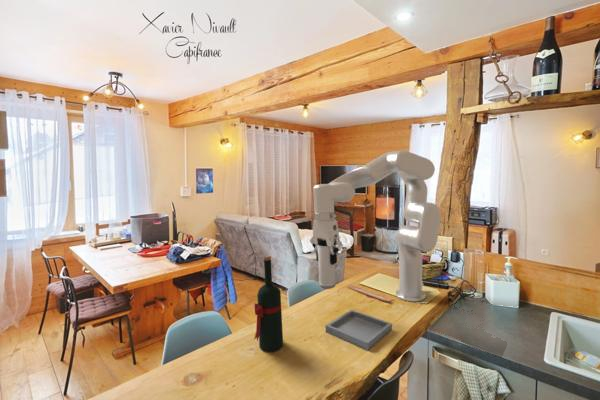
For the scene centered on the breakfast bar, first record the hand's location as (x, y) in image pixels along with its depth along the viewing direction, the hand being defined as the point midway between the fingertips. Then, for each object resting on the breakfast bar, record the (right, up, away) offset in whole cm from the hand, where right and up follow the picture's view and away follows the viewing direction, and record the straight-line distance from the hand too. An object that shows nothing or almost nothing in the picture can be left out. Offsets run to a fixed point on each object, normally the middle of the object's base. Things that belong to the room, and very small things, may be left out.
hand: (326, 261), depth 117 cm
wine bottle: (-21, -24, -18) cm, 37 cm away
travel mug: (+1, -10, +1) cm, 10 cm away
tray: (+10, -22, -11) cm, 27 cm away
